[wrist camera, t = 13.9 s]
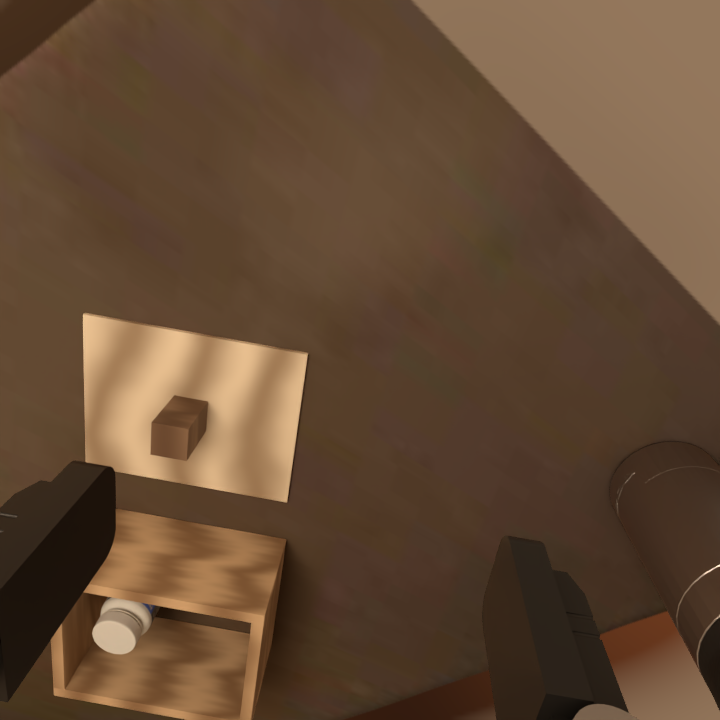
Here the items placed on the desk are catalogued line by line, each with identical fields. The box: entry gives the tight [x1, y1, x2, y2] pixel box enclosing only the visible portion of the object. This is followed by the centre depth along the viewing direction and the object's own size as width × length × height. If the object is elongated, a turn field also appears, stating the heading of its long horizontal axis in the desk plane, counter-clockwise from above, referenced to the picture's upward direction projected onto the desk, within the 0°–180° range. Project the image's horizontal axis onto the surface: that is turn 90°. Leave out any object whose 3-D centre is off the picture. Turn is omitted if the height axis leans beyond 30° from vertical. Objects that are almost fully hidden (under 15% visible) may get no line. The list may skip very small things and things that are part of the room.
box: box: [51, 509, 287, 720], centre depth 55 cm, size 18×14×10 cm
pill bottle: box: [92, 597, 161, 654], centre depth 56 cm, size 5×5×8 cm
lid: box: [83, 313, 308, 502], centre depth 50 cm, size 19×15×6 cm
